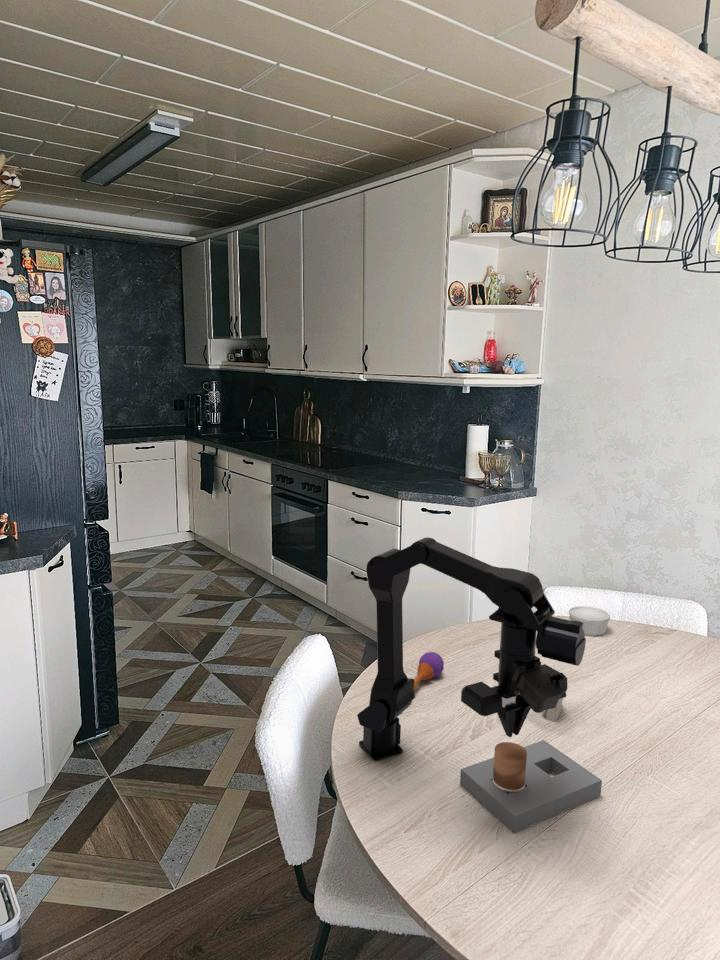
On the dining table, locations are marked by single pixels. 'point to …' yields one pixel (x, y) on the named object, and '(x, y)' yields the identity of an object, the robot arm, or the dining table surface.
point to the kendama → (429, 667)
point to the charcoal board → (533, 787)
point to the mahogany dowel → (509, 767)
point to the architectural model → (555, 711)
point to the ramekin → (590, 619)
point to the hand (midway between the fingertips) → (512, 735)
